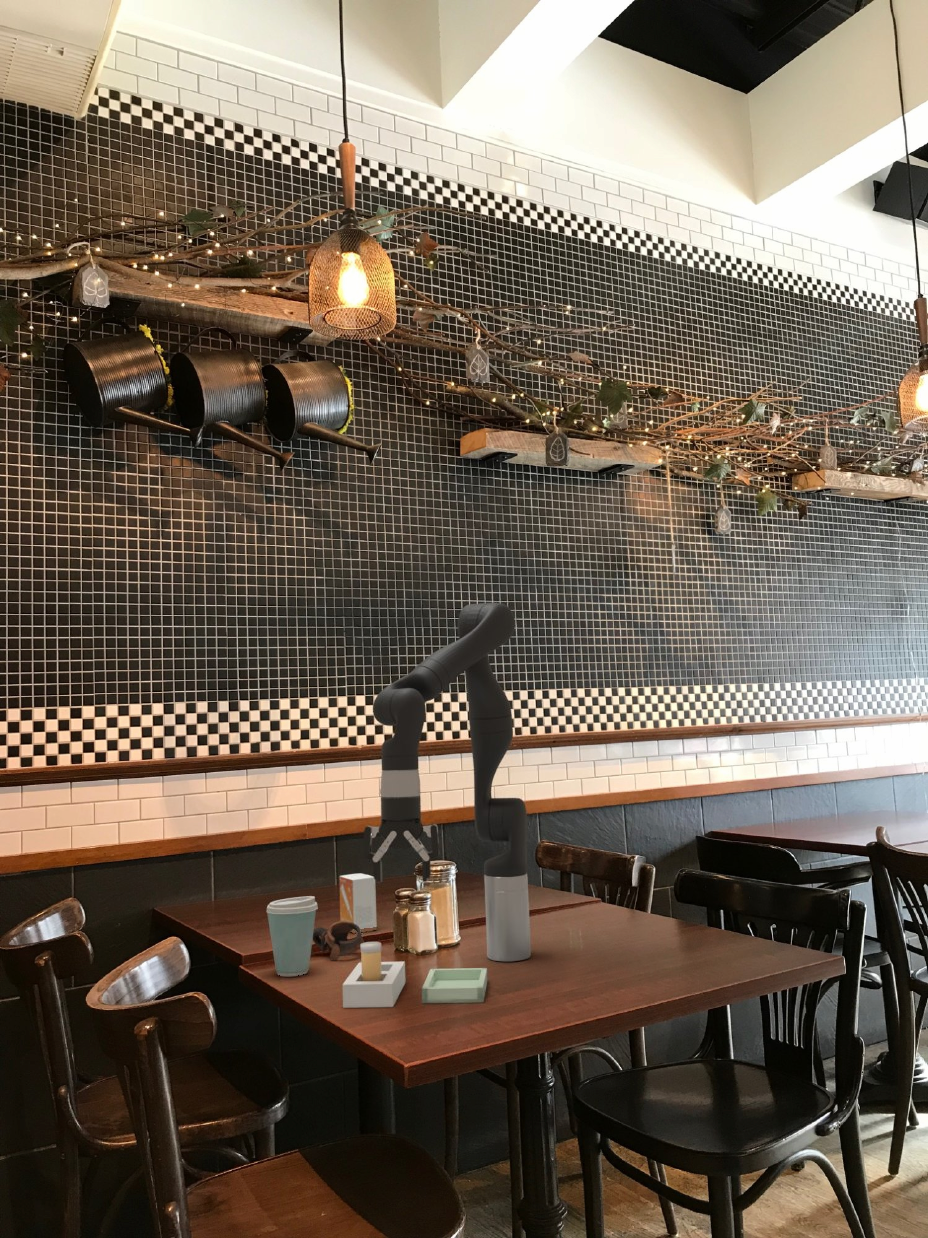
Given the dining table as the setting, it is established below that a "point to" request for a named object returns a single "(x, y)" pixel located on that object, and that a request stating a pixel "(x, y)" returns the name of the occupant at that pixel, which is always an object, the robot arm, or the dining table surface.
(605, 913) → the dining table surface
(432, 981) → the parts tray
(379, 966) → the fuse
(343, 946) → the pottery mug
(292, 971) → the disposable coffee cup
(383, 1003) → the frame
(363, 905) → the small box
